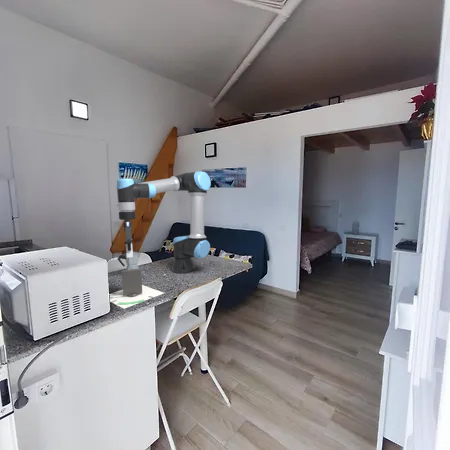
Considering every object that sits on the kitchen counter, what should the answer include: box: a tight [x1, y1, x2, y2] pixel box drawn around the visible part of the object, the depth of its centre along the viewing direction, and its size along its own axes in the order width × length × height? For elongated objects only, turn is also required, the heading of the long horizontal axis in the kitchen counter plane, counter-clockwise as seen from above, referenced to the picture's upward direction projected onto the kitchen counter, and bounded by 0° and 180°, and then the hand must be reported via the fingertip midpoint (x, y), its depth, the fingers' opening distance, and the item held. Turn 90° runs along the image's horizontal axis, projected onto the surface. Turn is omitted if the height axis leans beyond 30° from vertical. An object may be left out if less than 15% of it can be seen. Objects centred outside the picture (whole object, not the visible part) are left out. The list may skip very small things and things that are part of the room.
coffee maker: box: [117, 247, 142, 270], centre depth 160 cm, size 15×9×18 cm, turn 131°
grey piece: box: [113, 267, 143, 298], centre depth 126 cm, size 14×6×13 cm, turn 111°
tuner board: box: [109, 284, 164, 310], centre depth 127 cm, size 22×22×2 cm
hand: (129, 254), depth 125 cm, fingers open, 13 cm apart
